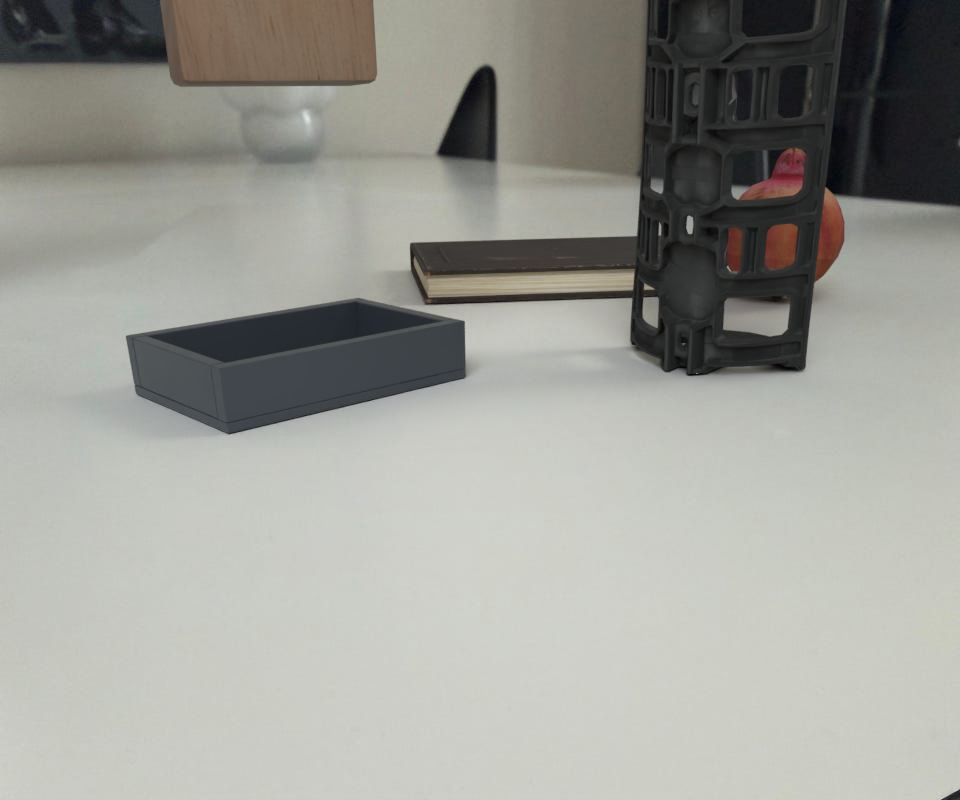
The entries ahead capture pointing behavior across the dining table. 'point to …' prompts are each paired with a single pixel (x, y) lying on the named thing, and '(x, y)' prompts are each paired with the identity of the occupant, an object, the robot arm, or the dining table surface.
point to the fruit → (785, 236)
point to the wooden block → (270, 42)
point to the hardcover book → (526, 269)
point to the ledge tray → (295, 361)
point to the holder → (727, 182)
